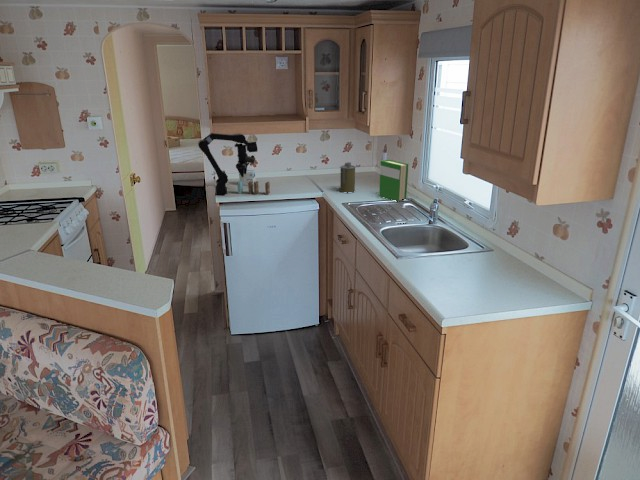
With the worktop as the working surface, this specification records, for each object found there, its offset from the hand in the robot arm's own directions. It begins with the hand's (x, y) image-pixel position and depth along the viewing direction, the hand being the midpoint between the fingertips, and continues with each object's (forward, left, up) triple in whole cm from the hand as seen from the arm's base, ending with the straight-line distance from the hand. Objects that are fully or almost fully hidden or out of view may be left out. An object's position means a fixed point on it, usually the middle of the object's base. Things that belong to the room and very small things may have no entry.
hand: (244, 175), depth 316 cm
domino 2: (+9, -2, -12) cm, 15 cm away
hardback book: (+102, -1, -12) cm, 102 cm away
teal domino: (-3, -2, -12) cm, 12 cm away
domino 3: (+17, -2, -12) cm, 21 cm away
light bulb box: (-5, +21, -12) cm, 25 cm away
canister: (+70, +12, -12) cm, 72 cm away
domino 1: (+5, -2, -12) cm, 13 cm away
